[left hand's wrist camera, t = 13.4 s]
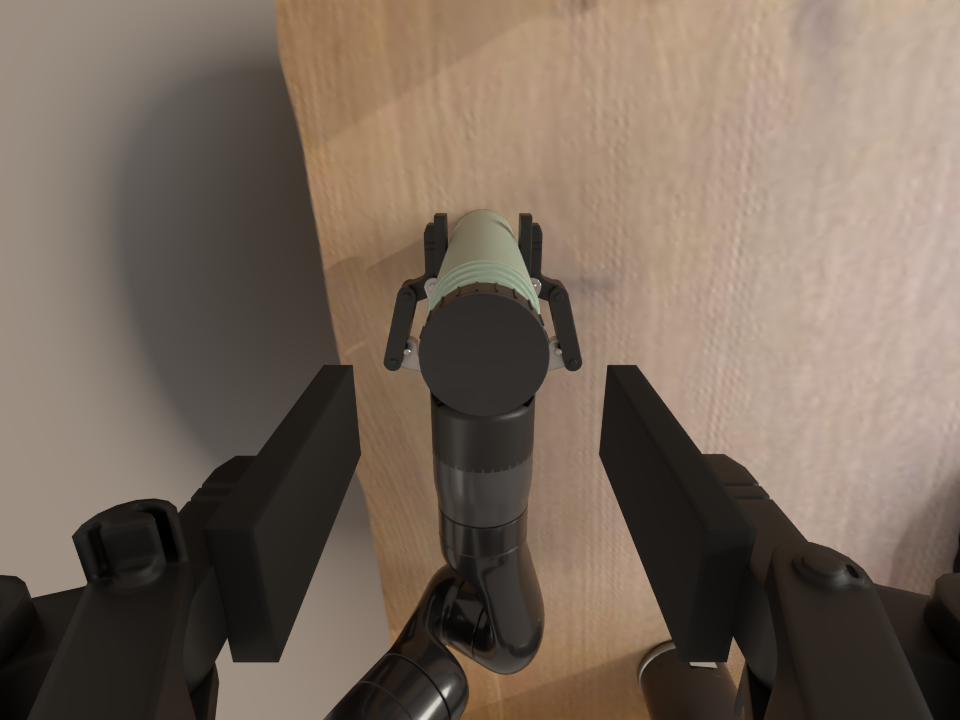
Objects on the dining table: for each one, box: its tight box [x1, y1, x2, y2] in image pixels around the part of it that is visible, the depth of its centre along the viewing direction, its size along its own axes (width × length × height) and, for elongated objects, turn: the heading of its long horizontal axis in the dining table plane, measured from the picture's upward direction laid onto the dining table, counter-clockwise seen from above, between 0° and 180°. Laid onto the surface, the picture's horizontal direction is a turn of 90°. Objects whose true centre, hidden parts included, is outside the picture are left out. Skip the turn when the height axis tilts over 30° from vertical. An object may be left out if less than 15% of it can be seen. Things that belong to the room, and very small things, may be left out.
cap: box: [418, 281, 550, 416], centre depth 18 cm, size 4×4×2 cm
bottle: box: [427, 210, 540, 316], centre depth 29 cm, size 5×5×24 cm
